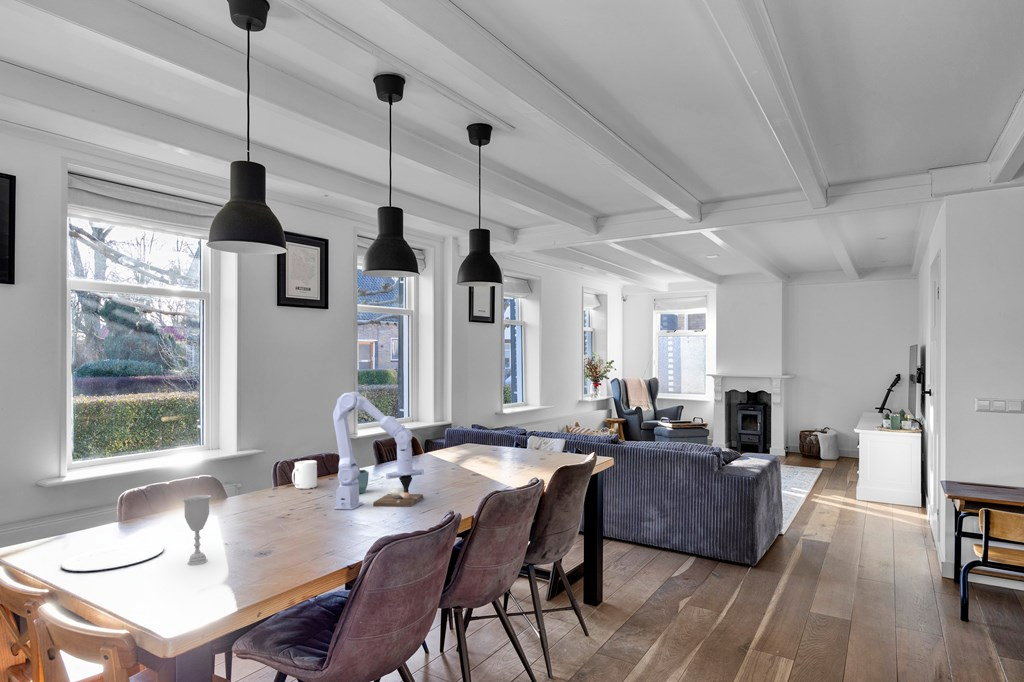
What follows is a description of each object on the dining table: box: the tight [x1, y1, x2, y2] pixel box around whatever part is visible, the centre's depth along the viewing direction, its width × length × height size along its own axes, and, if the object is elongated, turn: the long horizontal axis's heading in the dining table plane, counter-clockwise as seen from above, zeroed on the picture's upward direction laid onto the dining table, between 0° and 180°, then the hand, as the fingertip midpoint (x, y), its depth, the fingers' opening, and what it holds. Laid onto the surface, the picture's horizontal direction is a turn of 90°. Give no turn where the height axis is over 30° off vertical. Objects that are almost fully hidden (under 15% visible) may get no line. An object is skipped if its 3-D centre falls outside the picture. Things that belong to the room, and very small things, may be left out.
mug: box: [291, 459, 318, 489], centre depth 271 cm, size 10×12×12 cm
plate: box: [60, 542, 165, 573], centre depth 175 cm, size 25×25×1 cm
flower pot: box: [357, 469, 370, 494], centre depth 258 cm, size 9×9×9 cm
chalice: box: [182, 494, 212, 566], centre depth 170 cm, size 7×7×18 cm
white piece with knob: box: [390, 487, 410, 499], centre depth 234 cm, size 13×6×2 cm, turn 29°
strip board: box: [372, 493, 424, 508], centre depth 238 cm, size 15×15×3 cm
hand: (406, 495), depth 232 cm, fingers closed, pressing on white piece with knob
